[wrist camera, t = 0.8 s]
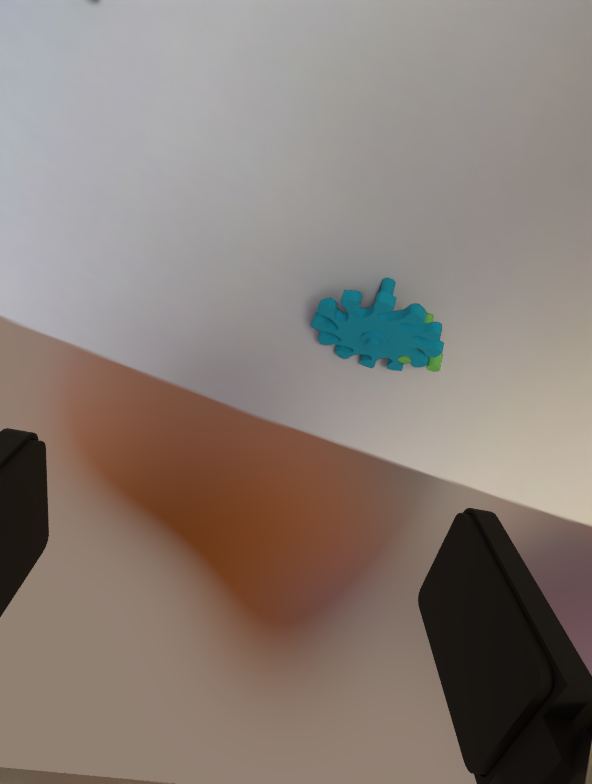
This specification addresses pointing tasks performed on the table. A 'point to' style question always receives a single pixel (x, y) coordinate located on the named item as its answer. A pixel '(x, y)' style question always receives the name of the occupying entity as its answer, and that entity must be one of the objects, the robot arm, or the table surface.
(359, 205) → the table surface
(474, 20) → the table surface
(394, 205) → the table surface
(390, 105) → the table surface
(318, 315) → the gear
